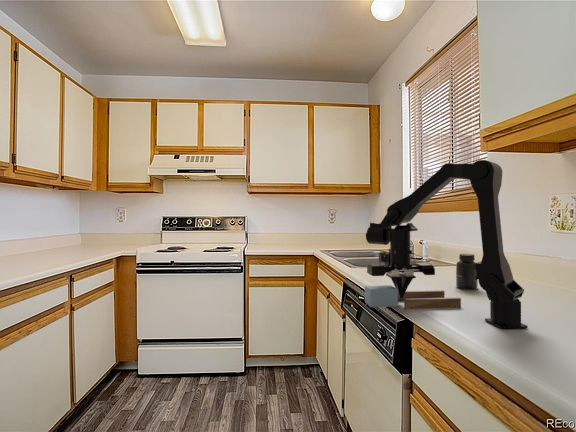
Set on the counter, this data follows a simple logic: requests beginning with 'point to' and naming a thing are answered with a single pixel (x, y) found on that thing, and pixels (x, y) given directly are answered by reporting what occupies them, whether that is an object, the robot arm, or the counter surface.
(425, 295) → the trap channel
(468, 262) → the supplement bottle
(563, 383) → the counter surface
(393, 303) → the slate block
